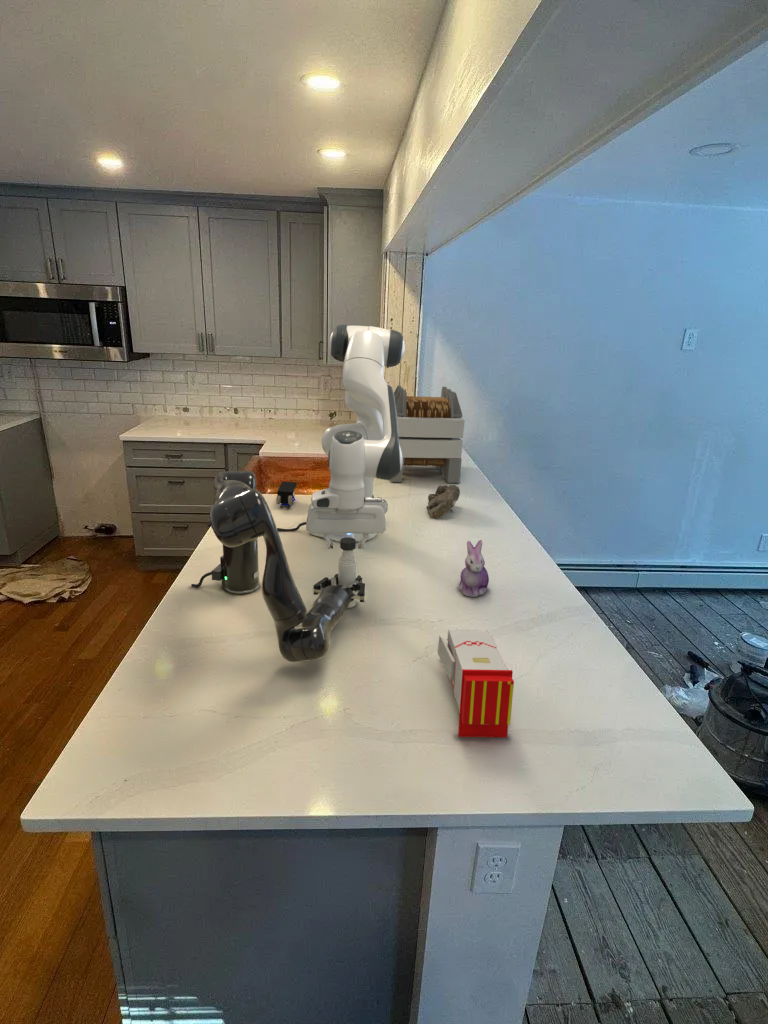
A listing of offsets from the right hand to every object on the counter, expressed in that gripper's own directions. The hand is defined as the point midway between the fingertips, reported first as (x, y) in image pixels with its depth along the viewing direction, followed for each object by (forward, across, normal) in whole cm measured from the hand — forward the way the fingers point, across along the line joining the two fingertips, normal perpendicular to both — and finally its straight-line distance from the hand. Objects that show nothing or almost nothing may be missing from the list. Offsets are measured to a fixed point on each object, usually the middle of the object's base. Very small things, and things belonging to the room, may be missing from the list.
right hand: (345, 548), depth 146 cm
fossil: (+16, -41, -74) cm, 86 cm away
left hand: (+10, -1, -2) cm, 10 cm away
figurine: (+16, -37, -7) cm, 41 cm away
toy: (+16, -25, +38) cm, 48 cm away
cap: (-2, 0, 0) cm, 2 cm away
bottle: (+16, 0, 0) cm, 16 cm away
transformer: (+16, -41, -127) cm, 135 cm away
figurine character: (+16, +20, -80) cm, 84 cm away
